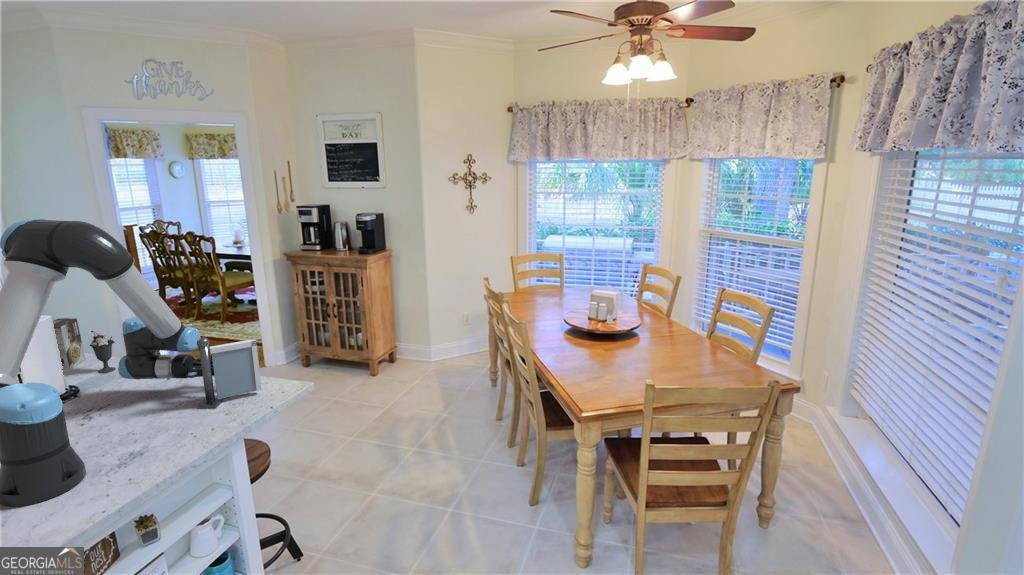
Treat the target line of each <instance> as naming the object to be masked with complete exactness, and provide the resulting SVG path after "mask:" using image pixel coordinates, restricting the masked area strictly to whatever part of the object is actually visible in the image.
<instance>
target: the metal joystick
mask: <svg viewBox="0 0 1024 575" xmlns="http://www.w3.org/2000/svg"><path fill="white" fill-rule="evenodd" d="M209 345H210V339H209V338H208V337H203V336H202V337H201V338H199V339H198V340H197V346H198V347H197V348H198V350H199V357H200V359H201V366H202V374H203V377H202V380H203V387H204V395H205V396H204V397H205V398H204V400H202V402H200V403H199V404H198V406H197V407H198V409H199V408H200V410H201V409H207V410H208V409H217V408H218V407H219V406H220V405H221V404H222V403H223V402H224V401H223V400H224V398H221V399H217V397H216V394H215V388H214V379H213V376H212V370H211V363H210V355H211V354H210V349H209V347H210V346H209ZM222 401H223V402H222Z"/></svg>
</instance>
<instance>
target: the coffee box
mask: <svg viewBox="0 0 1024 575" xmlns="http://www.w3.org/2000/svg"><path fill="white" fill-rule="evenodd" d="M52 321H53V324H54V329H55V334H56V339H57V344H58V349H59V351H60V358H61V362H62V366H63V369H65V370H64V371H66V370H67V371H68V370H71V369H73V368H74V367H76V366H78V365H79V364H81V363H82V362H84V361H85V360H86V356H85V352H84V347H83V341H82V338H81V333H80V332H81V331H80V327H79V322H78V319H77V317H75V318H70V317H69V318H68V317H66V318H65V317H64V318H55V319H53V320H52Z"/></svg>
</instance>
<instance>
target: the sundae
mask: <svg viewBox="0 0 1024 575" xmlns="http://www.w3.org/2000/svg"><path fill="white" fill-rule="evenodd" d="M90 333H93V334H94V336H92V340H91V343H90V344H89V347H91V348H92V350H93V351H94V352H93V353H94V355H95V357H96V359H97V361H100V362H102V364H103V366H102V368H101V369H99V370H97V373H98V374H108V373H112V372H114V371H116V367H113V366H109V362H108V361H109V360H111V358H112V356H113V355H112V354H113V344H115V342H116V341H114V340H113V339H112V337H113V336H112V335H111V336H110V337H109V338H108V336H106V335H103V334H102V335H101V334H99V333H97V332H95V331H94V330H91V331H90ZM96 334H97V335H96Z"/></svg>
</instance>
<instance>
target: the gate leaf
mask: <svg viewBox="0 0 1024 575" xmlns="http://www.w3.org/2000/svg"><path fill="white" fill-rule="evenodd" d="M208 347H209V354H210V355H212V362H213V369H214V376H213V377H214V384H215V392H216V398H217V399H221V398H223V399H226V398H230V397H234V396H239V395H244V394H248V393H251V392H259V391H262V382H261V372H260V363H259V355H258V353H259V352H258V346H257V340H256V338H252V339H248V340H247V339H246V340H242V341H236V342H230V343H224V344H223V343H222V344H218V345H212V346H208Z"/></svg>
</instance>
